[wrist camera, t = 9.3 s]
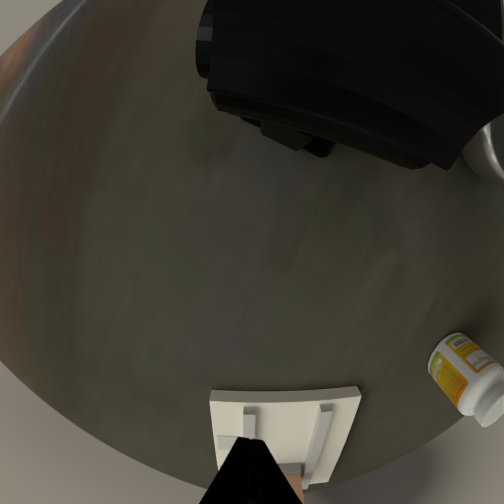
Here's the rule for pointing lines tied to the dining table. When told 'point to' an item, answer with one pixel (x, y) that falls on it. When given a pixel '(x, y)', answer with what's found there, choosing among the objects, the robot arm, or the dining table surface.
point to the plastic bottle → (487, 152)
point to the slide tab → (293, 477)
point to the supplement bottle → (469, 378)
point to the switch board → (287, 425)
